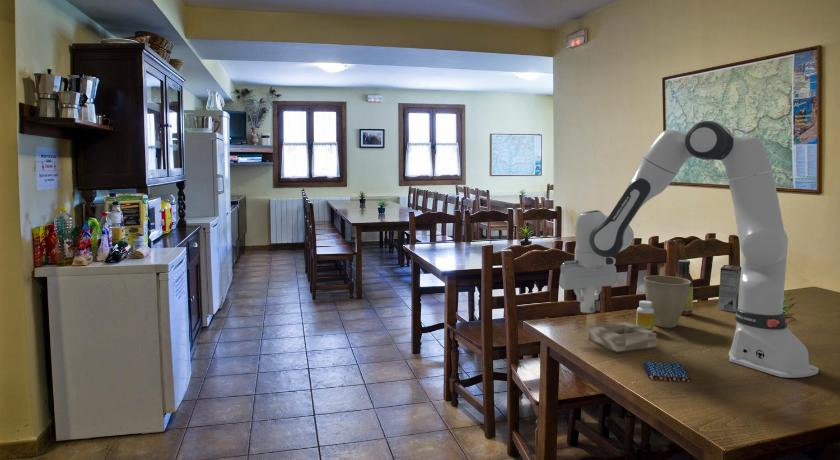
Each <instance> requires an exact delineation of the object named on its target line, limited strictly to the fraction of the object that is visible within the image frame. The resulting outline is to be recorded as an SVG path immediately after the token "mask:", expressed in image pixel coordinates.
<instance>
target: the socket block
mask: <svg viewBox="0 0 840 460" xmlns="http://www.w3.org/2000/svg"><path fill="white" fill-rule="evenodd" d="M588 327H589V328H588V340H589V341H590V342H593V343H595V344H597V345H599V346H600V347H603V348H604V349H607V350H609V351H611V352H613V353H615V354H624V353H631V352H638V351H640V352H641V351H648V350H655V349H656V348H657V346H656V345H657V333H655V332H653V331H652V332H651V331H648V330H646V329H643V328H641V327H638V326H636V324H633V323H631V322H627V321H622V322H620V321H619V322H613V323H603V324H594V325H589V326H588Z"/></svg>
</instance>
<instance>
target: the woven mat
mask: <svg viewBox="0 0 840 460" xmlns="http://www.w3.org/2000/svg"><path fill="white" fill-rule="evenodd" d="M642 367H643V369H644V372H645V373H646V374H647V377H648V379H650V378H651V379H650V380H654V379H655V380H660V381H661V380H664V381H667V379H668V381H673V382H674V381H678V382H680V381H682V382H690V380H692V379H691V377H690V376H689V373H688V372H687V371H686V369H685V368H684V367H683V365H682V363H676V362H675V363H671V362H668V363H667V362H659V361H658V362H653V361H644V362H642Z"/></svg>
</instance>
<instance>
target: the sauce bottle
mask: <svg viewBox="0 0 840 460" xmlns="http://www.w3.org/2000/svg"><path fill="white" fill-rule="evenodd" d="M677 264H678V267H677V268H678V269H677V272H678V273H676V276H675V277H679V278H684V279H687V280H689V281H691V283H690V288H689V292H688V296H687V300H686V303H685V306H684V309H683V311H682V314H681V315H683V316H690V315H692V314H693V309H694V307H693V306H694V285H693V283H694V279H693V277H692V275H691V273H690V272H691V271H690V265H691V261H690V260H687V259H679V260H678V261H677Z"/></svg>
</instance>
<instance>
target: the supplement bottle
mask: <svg viewBox="0 0 840 460" xmlns="http://www.w3.org/2000/svg"><path fill="white" fill-rule="evenodd" d="M638 302H639V303H638V304H639V306H638V307H637V309H636V319H635V320H636V322H635V325H636V326H638V327H641V328H643V329H646V330H648V331H651V332H653V331H654V324H653V322H654V310H653V309H652V308H651V307H652V302H650V301H647V300H639V301H638Z"/></svg>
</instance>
